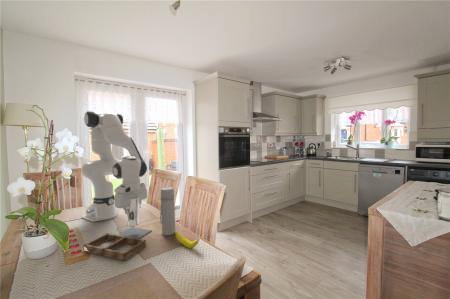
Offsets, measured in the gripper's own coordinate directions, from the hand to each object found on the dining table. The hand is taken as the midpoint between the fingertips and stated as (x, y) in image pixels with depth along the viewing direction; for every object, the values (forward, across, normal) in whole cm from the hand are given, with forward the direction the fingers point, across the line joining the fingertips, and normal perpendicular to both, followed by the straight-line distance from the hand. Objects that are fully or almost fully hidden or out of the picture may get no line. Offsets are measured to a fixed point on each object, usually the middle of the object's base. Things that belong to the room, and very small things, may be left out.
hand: (132, 211), depth 116 cm
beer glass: (+8, 0, 0) cm, 8 cm away
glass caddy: (+13, +15, +3) cm, 20 cm away
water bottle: (+13, -7, +17) cm, 23 cm away
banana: (+14, +2, +34) cm, 37 cm away
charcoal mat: (+13, 0, 0) cm, 13 cm away
